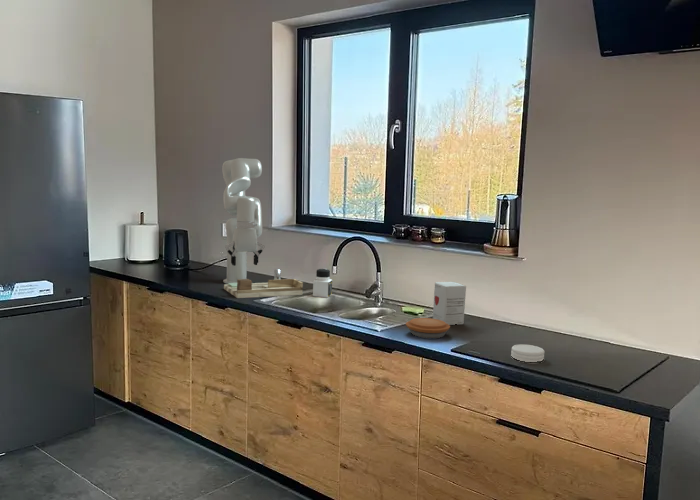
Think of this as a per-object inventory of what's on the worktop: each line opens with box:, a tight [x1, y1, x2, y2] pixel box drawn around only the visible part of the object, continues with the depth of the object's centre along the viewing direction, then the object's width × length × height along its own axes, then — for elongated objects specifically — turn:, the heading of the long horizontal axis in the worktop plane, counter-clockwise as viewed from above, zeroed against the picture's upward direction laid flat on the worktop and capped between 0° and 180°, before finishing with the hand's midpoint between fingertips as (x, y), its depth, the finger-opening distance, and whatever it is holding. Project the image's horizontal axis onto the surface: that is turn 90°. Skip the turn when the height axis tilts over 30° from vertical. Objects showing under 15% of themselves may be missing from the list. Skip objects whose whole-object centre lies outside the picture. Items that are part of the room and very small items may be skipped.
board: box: [223, 278, 304, 299], centre depth 282 cm, size 22×30×6 cm
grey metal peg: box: [273, 268, 282, 280], centre depth 291 cm, size 3×3×7 cm
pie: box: [405, 317, 451, 339], centre depth 218 cm, size 16×16×5 cm
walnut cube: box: [237, 278, 253, 290], centre depth 271 cm, size 5×5×5 cm
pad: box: [228, 283, 237, 288], centre depth 283 cm, size 7×7×1 cm
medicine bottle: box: [312, 268, 333, 298], centre depth 279 cm, size 7×7×12 cm
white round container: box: [510, 344, 545, 362], centre depth 194 cm, size 10×10×4 cm
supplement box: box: [432, 281, 467, 326], centre depth 237 cm, size 9×9×15 cm
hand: (244, 265), depth 270 cm, fingers open, 9 cm apart
